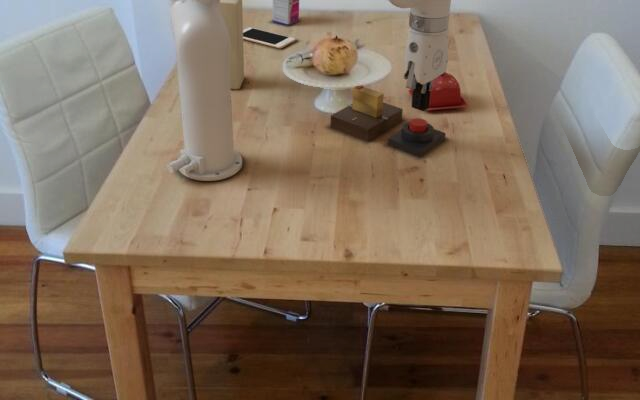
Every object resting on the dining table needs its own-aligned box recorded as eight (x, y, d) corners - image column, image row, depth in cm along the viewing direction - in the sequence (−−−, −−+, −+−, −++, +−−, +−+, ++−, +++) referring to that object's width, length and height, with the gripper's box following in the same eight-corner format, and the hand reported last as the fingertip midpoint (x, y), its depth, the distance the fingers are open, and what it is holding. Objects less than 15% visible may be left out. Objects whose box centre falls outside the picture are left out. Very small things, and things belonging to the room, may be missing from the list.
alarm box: (419, 157, 152) (421, 142, 150) (387, 145, 156) (388, 130, 154) (444, 140, 158) (446, 125, 156) (413, 128, 162) (414, 114, 160)
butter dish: (421, 115, 168) (424, 80, 163) (406, 94, 178) (409, 60, 173) (469, 111, 170) (473, 77, 166) (451, 90, 180) (455, 57, 175)
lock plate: (369, 142, 157) (369, 129, 155) (329, 127, 162) (329, 114, 160) (402, 121, 165) (404, 108, 163) (363, 107, 171) (364, 95, 169)
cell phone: (280, 49, 200) (280, 46, 200) (232, 36, 207) (232, 34, 207) (296, 40, 206) (296, 38, 205) (249, 28, 213) (249, 26, 212)
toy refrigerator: (245, 77, 184) (242, -7, 173) (240, 89, 178) (236, 3, 166) (214, 75, 184) (209, -9, 173) (207, 87, 178) (201, 1, 167)
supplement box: (288, 26, 216) (288, -13, 209) (272, 22, 218) (271, -17, 212) (299, 21, 220) (300, -18, 214) (283, 17, 222) (283, -22, 216)
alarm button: (420, 135, 153) (421, 127, 152) (405, 130, 155) (406, 122, 154) (429, 129, 156) (430, 121, 155) (415, 124, 157) (415, 116, 156)
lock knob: (382, 114, 161) (383, 92, 158) (376, 118, 160) (377, 95, 157) (358, 106, 164) (359, 84, 162) (352, 109, 163) (353, 87, 160)
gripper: (424, 36, 136) (415, 126, 146) (465, 16, 146) (454, 101, 156) (390, 27, 140) (384, 115, 150) (432, 8, 150) (423, 91, 160)
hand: (420, 107), depth 153 cm, fingers closed
